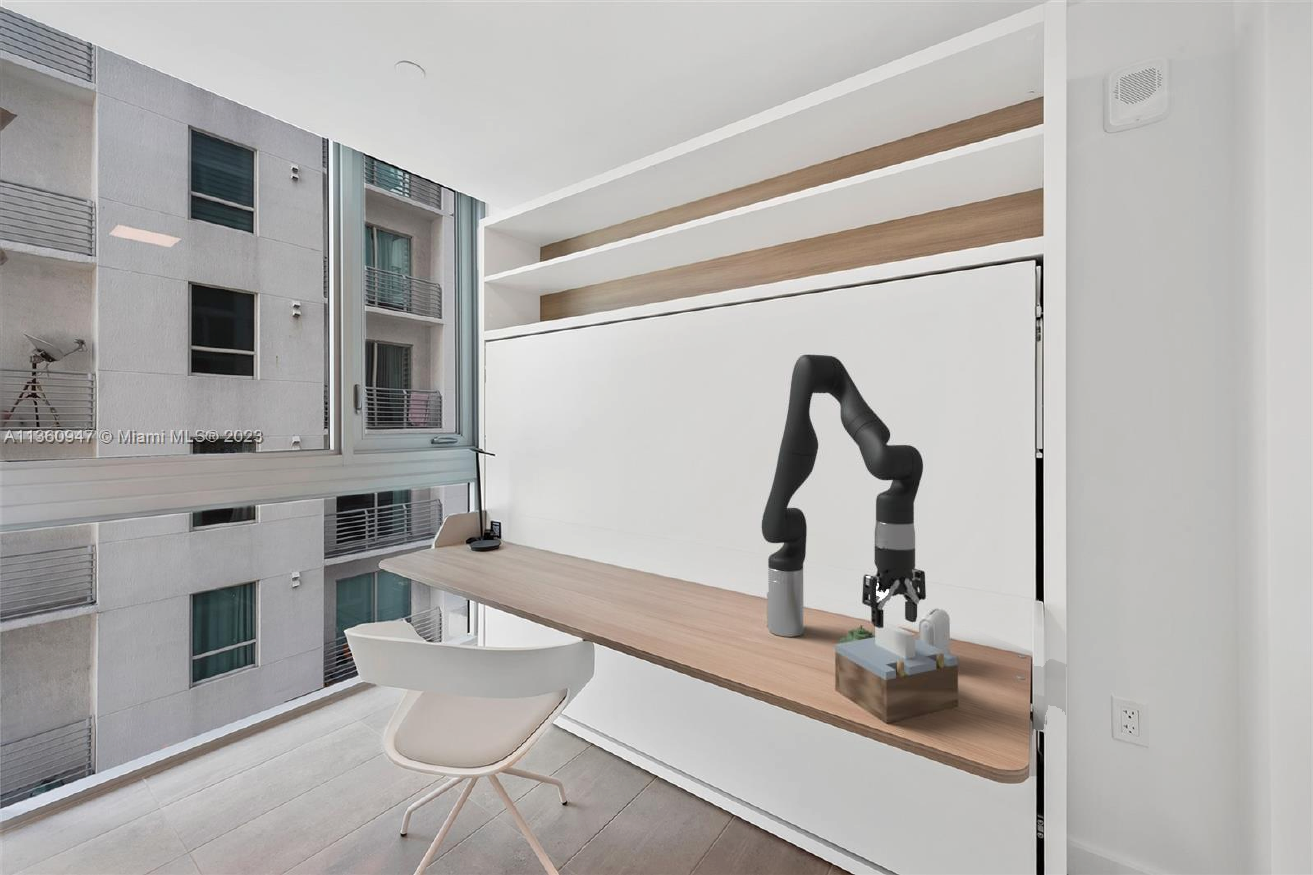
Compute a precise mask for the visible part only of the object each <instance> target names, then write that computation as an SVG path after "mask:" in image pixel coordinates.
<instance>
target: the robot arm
mask: <svg viewBox="0 0 1313 875" xmlns="http://www.w3.org/2000/svg"><path fill="white" fill-rule="evenodd" d="M813 394H829V395H831V396H832V398H834V399H835V400H836V401H837V402H838V403H839V406H840V412H839V413H840V414H839V415H840V421H841V424H842V426H843V429H844V430H845V431H846V433H847V434H848V435H849V437H850V438H851V440H853V442H854V443H855V444H856V445H857V447H858V448H859V451H860V454H861V457H862V459H863V462H864V465H865V468H866V469H867V471H868V473H870V474H871V475H872V476H873V477H874V478H876V479H877V480H881V481H891V484H890V487H889V488H888V489H887V490H884V491H882V492H880V493H878V494H877V495H876V498H875V526H874V565H875V567H876V570H877V571H876V574H875V575H870V574H864V575H863V578H862V597H861V598H862V600H861V603H862V604H863V605H865V606H868V607H870V609H871V610H870V611H871V612H870V613H871V615H870V619H871V620H870V621H871V624H872V625H873V626H874V628H875V627H878V628H883V621H884V620H885V619H884V611H885V610H884V609H883V608H884V606H885V605H886V603H887V602H888V601H890V600H891V598H892V597H895V596H897V595H899V596H900V595H902V596H903V597H904V600H905V601H904V618H905V620H906V621H908V622H911V623H916V622H917V618H918V604H919V603H920V601H921V600H922V601H923V600H926V598H927V593H926V589H927V588H926V572H925V571H924V570H921V569H918V568H916V529H915V500H916V497H917V493H918V490H919V487H920V482H921V479H922V476H923V472H924V461H923V457H922V454H921V452H920V451H919V450H918V448H916V447H915V446H912V445H909V444H888V442H889V441H890V439H891V431H890V428H888V426H887V425H886V423H884V421H883V420H882V419H881V418H880V417H879V416H878V415H877V413H876V412H875V411H873V409H872V408H871V407H870V406H869V405H868V403H867V402H866V400H865V399H864V397H863V396H862V394H861V393H860V390H859V389H858V388H857V386H856V383H855V382H854V381H853V379H852V377H851V375H850V374H849V372H848V370H847V369H846V367H845V366H844V364H843V362H842V361H841V360H840V359H839V358H837V357H835V356H833V355H823V354H803V355H801V356H799V357H798V359H797V360H796V361H795V363H794V366H793V370H792V375H791V380H790V391H789V399H788V400H789V401H788V407H787V414H786V415H787V416H786V420H785V425H784V431H783V435H782V438H781V443H780V446H779V447H780V448H779V452H778V456H777V463H776V468H775V471H774V472H775V473H774V475H773V476H774V477H773V481H772V485H771V489H770V492H769V495H768V498H767V502H766V505H765V508H764V511H763V515H762V520H761V533H762V537H763V539H764V540H765V541H767V543H770V544H782V546H781V547H780V548H779V549H778V550H777V551H775V552H773V553H771V554H770V555H769V557H768V560H767V561H768V562H767V563H768V564H767V566H768V567H767V568H768V572H767V573H768V574H767V575H768V581H767V582H768V592H767V593H766V624H767V625H766V626H767V627H768V631H769V632H770V633H771V634H774V635H776V636H781V637H790V638H791V637H798V636H802V635H803V634H804V612H805V611H804V562H805V560H806V554H807V535H808V534H807V532H808V528H807V527H808V526H807V520H806V519H807V518H806V516H805V514H804V512H803V511H802V510H801V509H799V507H789V504H790V501H791V500H792V497H793V496H794V495H795V493H796V492H797V491H798V490H799V489H800V487H801V486H802V485H803V484H804V483H805V481H807V479H808V478H809V477H810V475H811V474H812V472H813V470H814V468H815V463H816V459H817V455H818V450H819V440H818V437H817V433H816V431H815V428H814V425H813V423H812V420H811V416H810V411H811V410H810V409H811V402H812V399H813V398H812V397H813ZM881 591H882V592H881Z"/></svg>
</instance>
